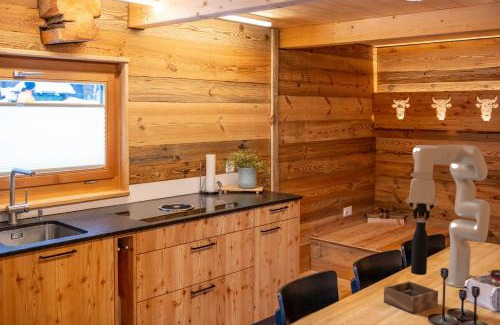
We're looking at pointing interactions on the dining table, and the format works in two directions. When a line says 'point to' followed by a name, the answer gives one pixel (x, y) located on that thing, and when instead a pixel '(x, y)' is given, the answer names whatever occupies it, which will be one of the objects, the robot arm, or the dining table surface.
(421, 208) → the wine bottle
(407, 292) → the crate
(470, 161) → the robot arm
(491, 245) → the dining table surface
